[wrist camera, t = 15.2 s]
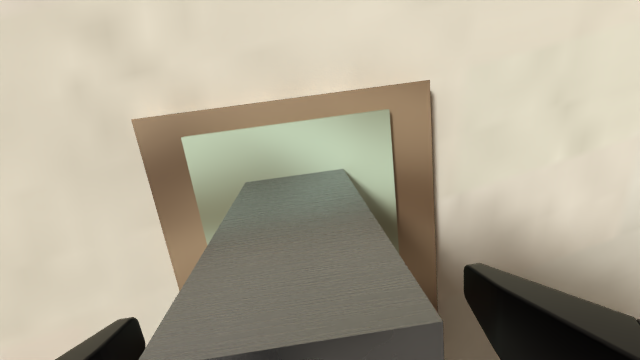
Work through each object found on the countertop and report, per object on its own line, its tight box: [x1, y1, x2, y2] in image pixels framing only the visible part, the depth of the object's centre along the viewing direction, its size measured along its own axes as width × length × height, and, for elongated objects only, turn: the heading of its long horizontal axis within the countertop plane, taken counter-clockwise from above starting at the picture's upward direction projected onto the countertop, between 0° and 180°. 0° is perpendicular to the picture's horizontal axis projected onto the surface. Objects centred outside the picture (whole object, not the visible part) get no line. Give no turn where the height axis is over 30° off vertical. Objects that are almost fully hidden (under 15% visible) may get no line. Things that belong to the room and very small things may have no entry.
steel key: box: [139, 169, 444, 360], centre depth 10 cm, size 4×4×10 cm
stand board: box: [132, 80, 438, 313], centre depth 17 cm, size 22×13×1 cm, turn 7°
